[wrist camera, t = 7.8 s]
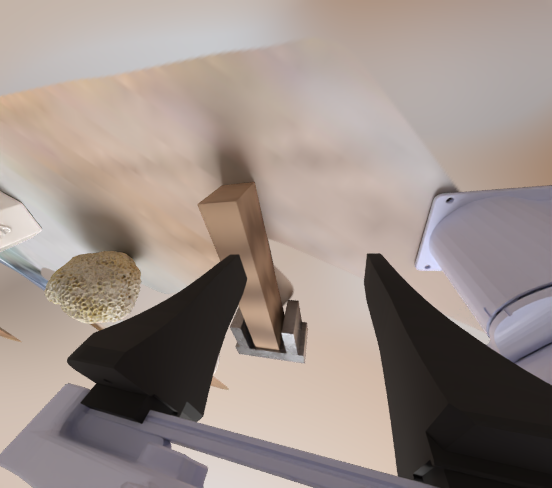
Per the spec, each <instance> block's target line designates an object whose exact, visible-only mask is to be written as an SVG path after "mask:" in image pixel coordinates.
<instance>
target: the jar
mask: <svg viewBox="0 0 552 488" xmlns="http://www.w3.org/2000/svg"><path fill="white" fill-rule="evenodd" d="M40 231H42V228H41V227H40V225H39V224H38V223H37V222H36V220H35V219H34V218H33V216H32V215H31V214H30V213H29V211H28V210H27V209H26V207H25V206H24V205H23V204H22V203H21V202H19V201H17V200H15V199H14V198H12V197H10V196H8V195H6V194H5V193H3V192H1V191H0V252H2V251H4V250H6V249H9V248H11V247H13V246H15V245H18V244H20V243H22V242H24V241H26V240H29V239H31V238H33V237H34V236H35V235H36V234H38V233H39V232H40Z"/></svg>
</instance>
